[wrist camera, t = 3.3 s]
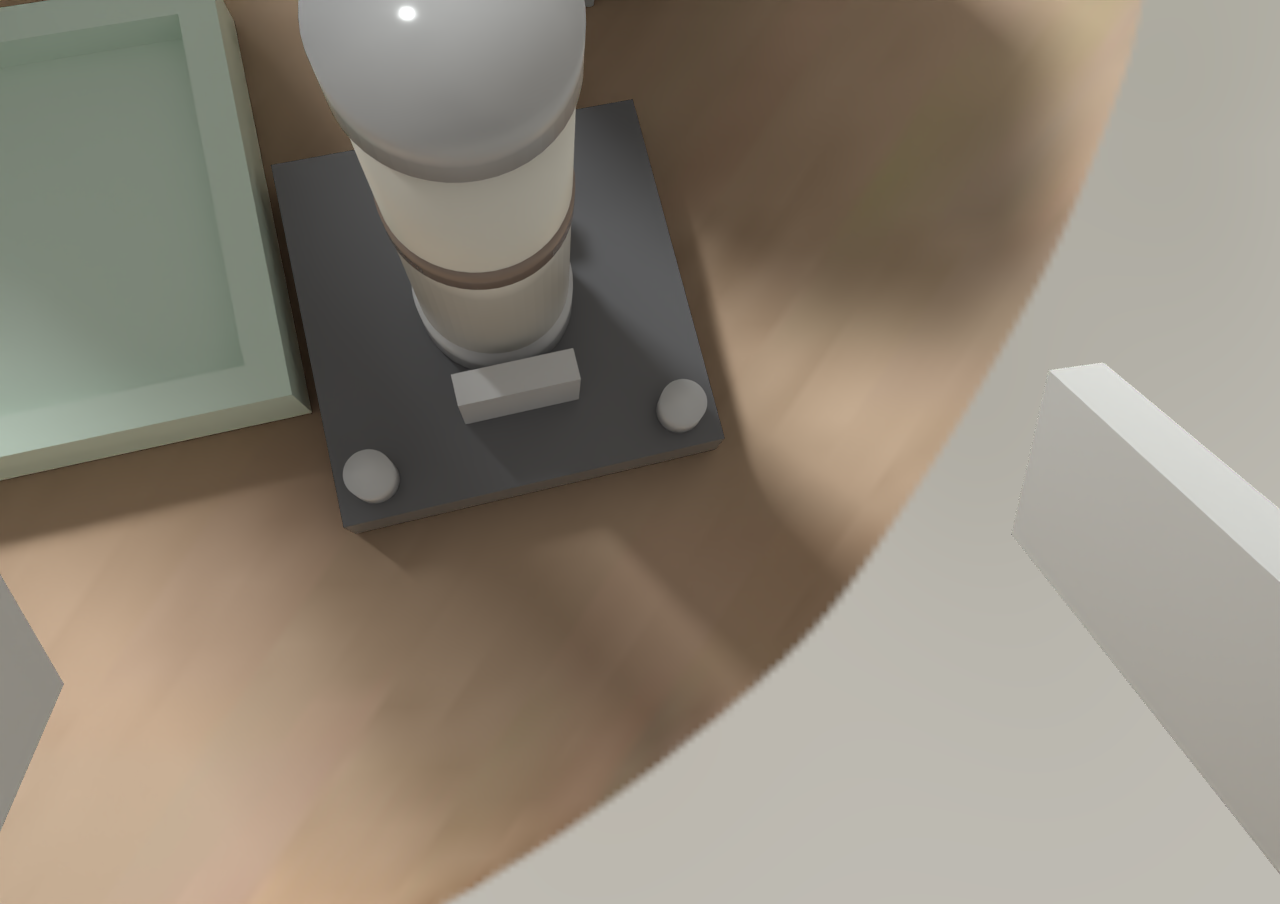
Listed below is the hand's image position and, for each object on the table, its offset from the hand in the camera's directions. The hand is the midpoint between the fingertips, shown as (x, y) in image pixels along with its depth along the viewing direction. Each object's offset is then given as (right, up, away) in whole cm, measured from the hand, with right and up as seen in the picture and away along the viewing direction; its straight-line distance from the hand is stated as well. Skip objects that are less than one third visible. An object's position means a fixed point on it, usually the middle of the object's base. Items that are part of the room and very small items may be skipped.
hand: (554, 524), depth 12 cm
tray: (-15, +6, +14) cm, 21 cm away
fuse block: (-3, +5, +15) cm, 16 cm away
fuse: (-3, +5, +13) cm, 14 cm away
